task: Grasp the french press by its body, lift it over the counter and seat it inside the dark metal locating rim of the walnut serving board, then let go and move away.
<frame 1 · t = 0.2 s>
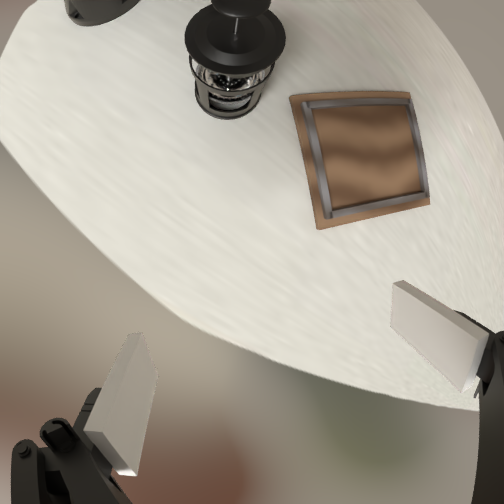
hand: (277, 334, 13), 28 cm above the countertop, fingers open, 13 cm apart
serving board: (368, 153, 40), on the countertop
french press: (230, 88, 35), on the countertop
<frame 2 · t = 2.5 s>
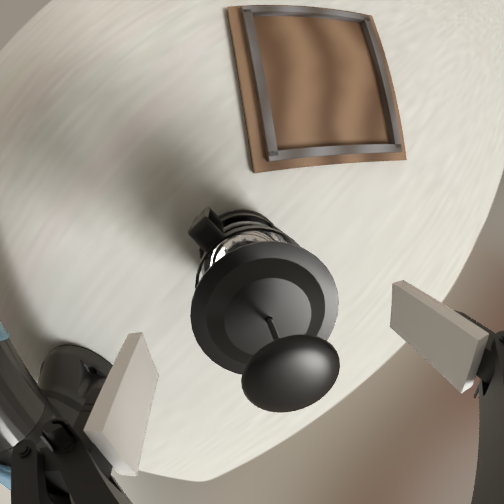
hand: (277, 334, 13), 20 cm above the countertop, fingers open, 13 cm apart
serving board: (321, 78, 29), on the countertop
french press: (238, 247, 33), on the countertop
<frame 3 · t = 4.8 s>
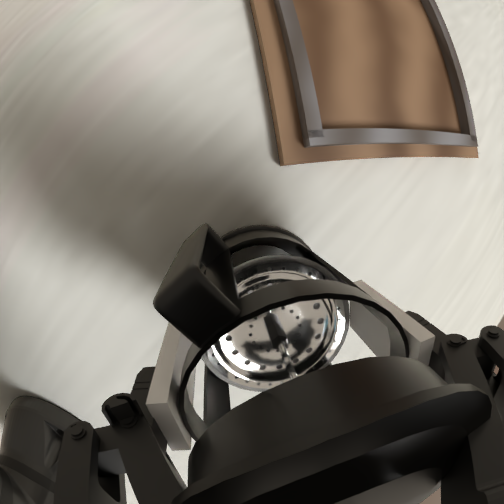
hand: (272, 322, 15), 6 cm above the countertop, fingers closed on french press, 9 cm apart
serving board: (372, 36, 17), on the countertop
french press: (253, 283, 21), on the countertop, touching gripper
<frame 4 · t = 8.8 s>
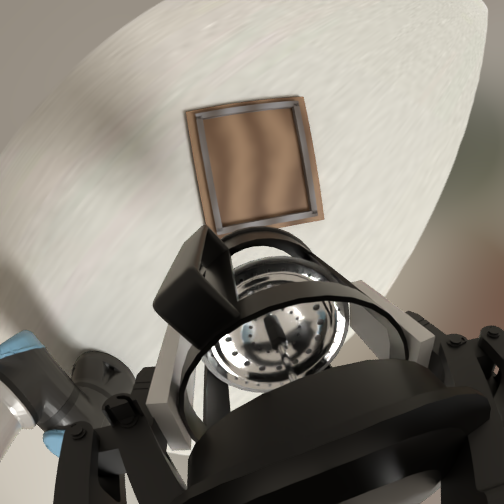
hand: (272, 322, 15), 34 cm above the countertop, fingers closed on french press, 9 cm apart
serving board: (256, 165, 46), on the countertop
french press: (253, 284, 21), point 28 cm above the countertop, touching gripper
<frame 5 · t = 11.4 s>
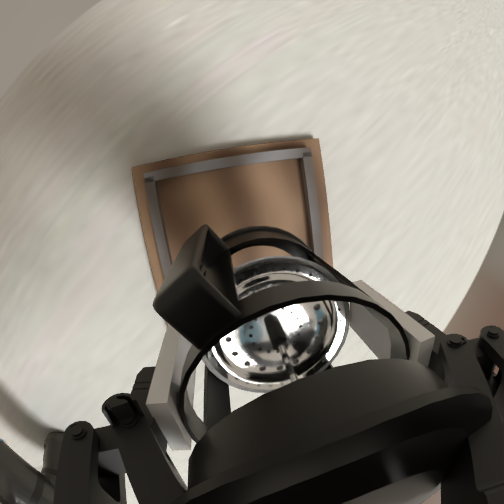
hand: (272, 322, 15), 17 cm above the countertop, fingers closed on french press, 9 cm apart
serving board: (241, 250, 31), on the countertop
french press: (254, 284, 21), point 11 cm above the countertop, touching gripper
when the fingers open (8 cm above the countertop, at t = 13.2 s): french press drops 1 cm, resting on serving board.
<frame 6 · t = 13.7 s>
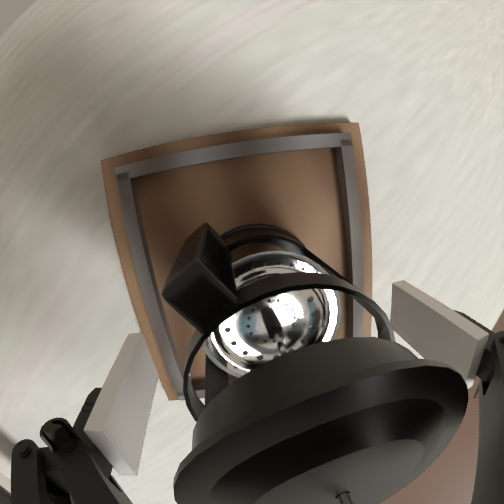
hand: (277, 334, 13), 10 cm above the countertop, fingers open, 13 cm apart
serving board: (253, 273, 23), on the countertop
french press: (251, 279, 22), point 1 cm above the countertop, touching serving board
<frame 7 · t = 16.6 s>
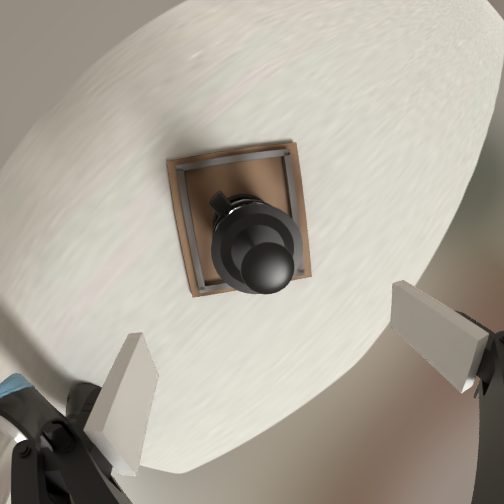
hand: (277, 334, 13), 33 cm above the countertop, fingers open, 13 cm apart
serving board: (242, 219, 45), on the countertop
french press: (240, 221, 44), point 1 cm above the countertop, touching serving board
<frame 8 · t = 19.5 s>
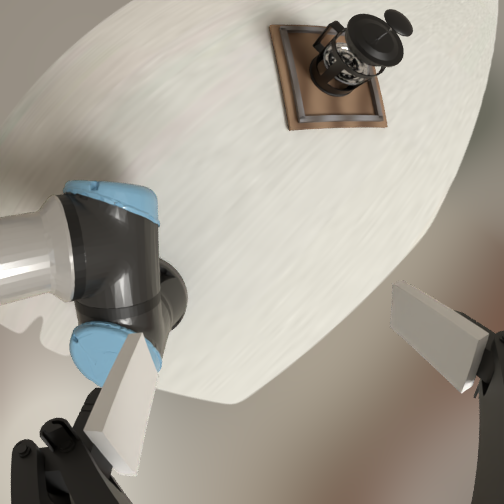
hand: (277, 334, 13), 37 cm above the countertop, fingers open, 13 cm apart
serving board: (330, 74, 44), on the countertop
french press: (330, 72, 43), point 1 cm above the countertop, touching serving board
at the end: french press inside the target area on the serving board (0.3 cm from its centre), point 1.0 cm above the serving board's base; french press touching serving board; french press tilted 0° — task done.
